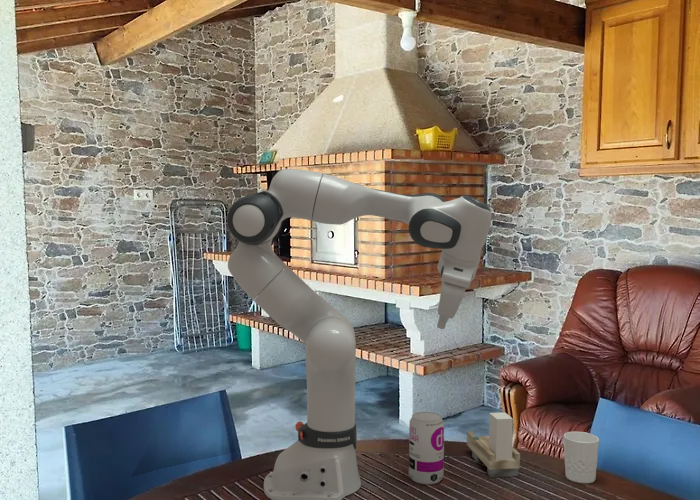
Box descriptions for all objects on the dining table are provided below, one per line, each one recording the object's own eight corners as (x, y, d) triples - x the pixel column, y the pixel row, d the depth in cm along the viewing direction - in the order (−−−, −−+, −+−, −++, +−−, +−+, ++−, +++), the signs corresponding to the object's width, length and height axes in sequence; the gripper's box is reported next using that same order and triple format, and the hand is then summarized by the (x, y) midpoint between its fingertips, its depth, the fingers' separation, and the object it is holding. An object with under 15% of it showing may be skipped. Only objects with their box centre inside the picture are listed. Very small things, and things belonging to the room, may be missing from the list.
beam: (489, 477, 149) (489, 454, 149) (466, 451, 166) (466, 430, 166) (519, 476, 150) (520, 453, 150) (494, 450, 167) (494, 429, 167)
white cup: (600, 486, 145) (601, 443, 145) (565, 483, 147) (566, 441, 146) (594, 472, 153) (595, 432, 152) (560, 470, 154) (561, 430, 154)
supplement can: (450, 478, 149) (451, 416, 148) (429, 488, 143) (430, 424, 142) (422, 468, 155) (423, 409, 154) (401, 478, 149) (402, 416, 148)
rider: (496, 460, 150) (496, 419, 149) (488, 452, 155) (489, 412, 154) (512, 459, 150) (512, 418, 150) (504, 451, 155) (504, 412, 155)
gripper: (445, 250, 154) (431, 300, 158) (442, 276, 134) (425, 332, 139) (470, 257, 153) (455, 307, 157) (471, 284, 134) (453, 341, 138)
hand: (441, 319), depth 148 cm, fingers open, 8 cm apart
